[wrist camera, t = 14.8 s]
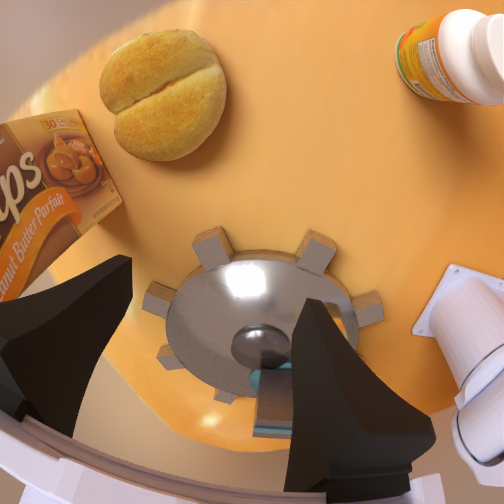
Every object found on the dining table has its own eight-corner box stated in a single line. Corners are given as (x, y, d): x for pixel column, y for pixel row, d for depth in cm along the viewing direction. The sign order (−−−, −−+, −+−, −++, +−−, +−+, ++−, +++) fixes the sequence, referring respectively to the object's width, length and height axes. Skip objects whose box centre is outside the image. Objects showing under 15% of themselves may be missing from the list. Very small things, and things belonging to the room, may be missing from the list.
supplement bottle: (443, 27, 13) (530, 6, 4) (464, 95, 15) (558, 111, 6) (381, 32, 14) (456, -7, 5) (406, 104, 16) (495, 118, 8)
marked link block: (301, 371, 25) (301, 423, 21) (292, 395, 28) (291, 440, 24) (260, 368, 25) (255, 420, 21) (256, 392, 28) (251, 437, 24)
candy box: (46, 134, 19) (-107, 203, 5) (78, 104, 18) (-99, 158, 4) (92, 221, 22) (-33, 346, 9) (128, 200, 21) (-14, 336, 8)
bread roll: (140, 171, 20) (114, 187, 17) (103, 66, 16) (71, 63, 13) (247, 134, 19) (240, 142, 15) (207, 17, 15) (191, 0, 11)
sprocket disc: (388, 370, 28) (399, 411, 23) (212, 407, 33) (205, 444, 28) (350, 181, 19) (374, 211, 14) (106, 270, 24) (75, 309, 19)
